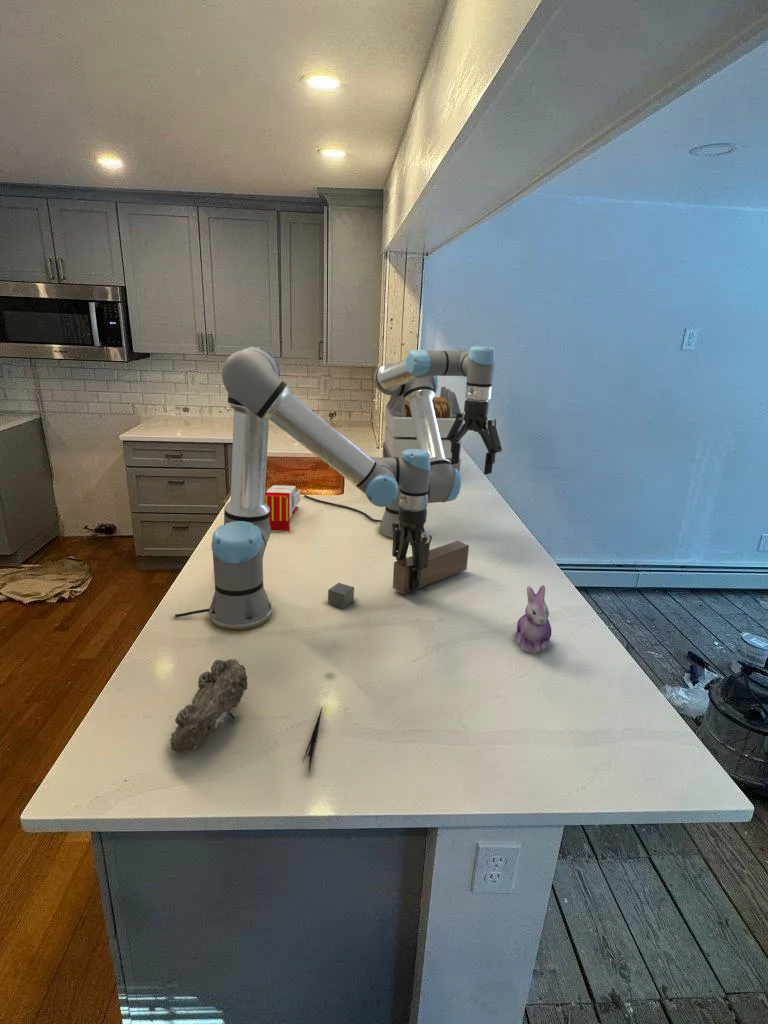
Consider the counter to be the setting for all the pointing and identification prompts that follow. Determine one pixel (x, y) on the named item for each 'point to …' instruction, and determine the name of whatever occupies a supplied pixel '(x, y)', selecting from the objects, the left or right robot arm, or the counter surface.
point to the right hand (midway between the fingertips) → (470, 468)
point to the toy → (281, 506)
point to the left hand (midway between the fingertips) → (407, 585)
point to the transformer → (402, 427)
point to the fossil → (210, 704)
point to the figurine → (534, 623)
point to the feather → (313, 740)
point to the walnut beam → (432, 566)
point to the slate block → (341, 595)
